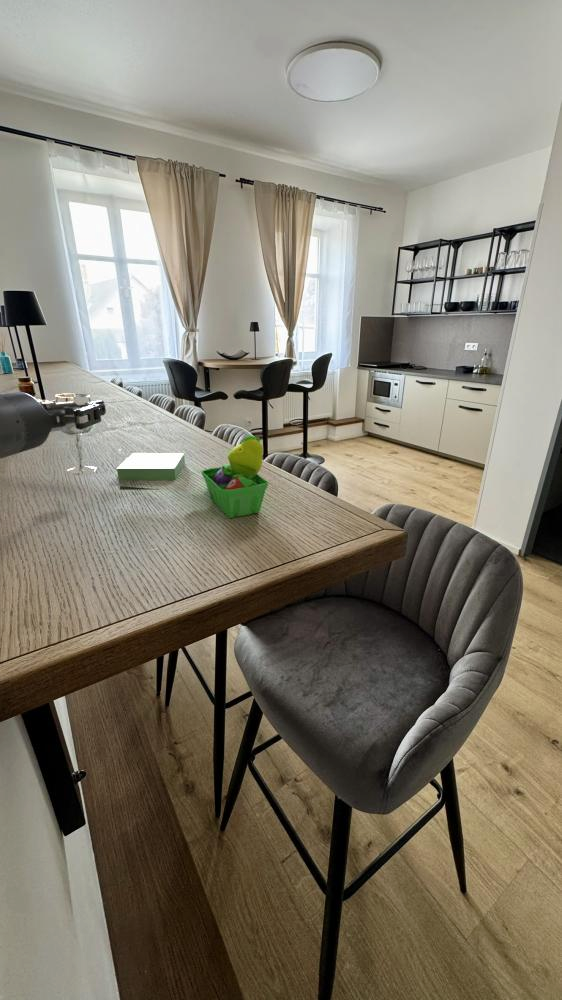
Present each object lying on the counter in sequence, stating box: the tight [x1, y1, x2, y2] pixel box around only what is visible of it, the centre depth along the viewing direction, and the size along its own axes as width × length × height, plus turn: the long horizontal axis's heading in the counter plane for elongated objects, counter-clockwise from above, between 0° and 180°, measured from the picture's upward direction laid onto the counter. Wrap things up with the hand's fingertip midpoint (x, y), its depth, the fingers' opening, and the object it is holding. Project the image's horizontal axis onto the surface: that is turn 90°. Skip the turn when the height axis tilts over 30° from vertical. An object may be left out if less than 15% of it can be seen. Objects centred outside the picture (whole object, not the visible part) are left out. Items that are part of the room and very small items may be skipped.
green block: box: [116, 452, 186, 491], centre depth 77 cm, size 10×10×4 cm
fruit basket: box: [200, 435, 269, 519], centre depth 65 cm, size 11×9×11 cm
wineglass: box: [54, 393, 98, 476], centre depth 65 cm, size 6×6×12 cm
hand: (84, 406), depth 66 cm, fingers closed on wineglass, 5 cm apart
